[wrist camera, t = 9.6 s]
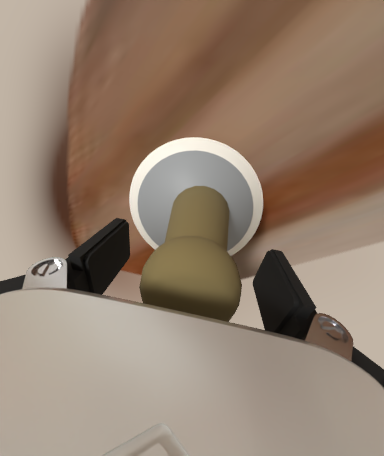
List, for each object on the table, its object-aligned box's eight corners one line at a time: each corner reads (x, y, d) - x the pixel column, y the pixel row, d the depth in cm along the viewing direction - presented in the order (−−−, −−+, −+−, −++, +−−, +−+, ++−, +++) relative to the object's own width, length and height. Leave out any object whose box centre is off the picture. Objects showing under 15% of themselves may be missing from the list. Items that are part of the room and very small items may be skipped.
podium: (270, 150, 17) (289, 153, 13) (234, 251, 24) (239, 274, 20) (145, 128, 18) (125, 123, 13) (143, 234, 24) (130, 254, 20)
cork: (241, 203, 16) (292, 301, 6) (211, 247, 18) (213, 362, 9) (185, 174, 15) (141, 233, 5) (163, 224, 18) (107, 324, 8)
